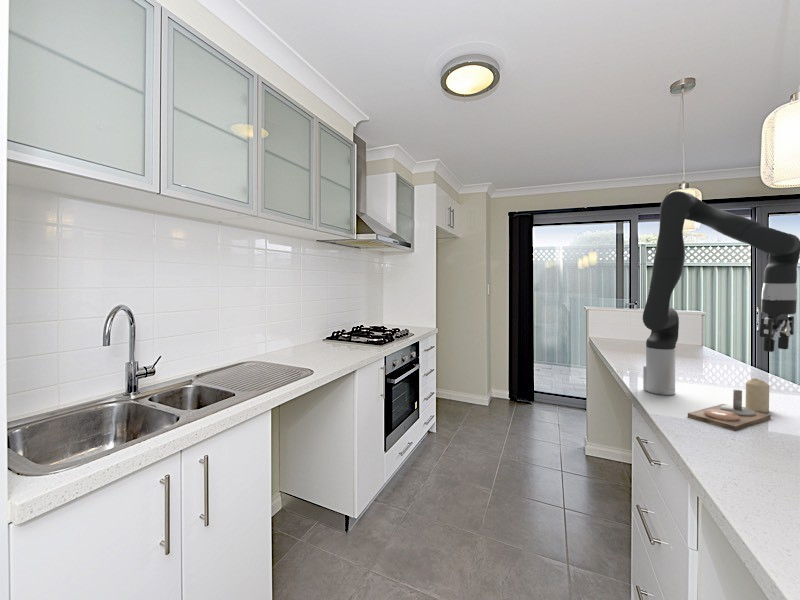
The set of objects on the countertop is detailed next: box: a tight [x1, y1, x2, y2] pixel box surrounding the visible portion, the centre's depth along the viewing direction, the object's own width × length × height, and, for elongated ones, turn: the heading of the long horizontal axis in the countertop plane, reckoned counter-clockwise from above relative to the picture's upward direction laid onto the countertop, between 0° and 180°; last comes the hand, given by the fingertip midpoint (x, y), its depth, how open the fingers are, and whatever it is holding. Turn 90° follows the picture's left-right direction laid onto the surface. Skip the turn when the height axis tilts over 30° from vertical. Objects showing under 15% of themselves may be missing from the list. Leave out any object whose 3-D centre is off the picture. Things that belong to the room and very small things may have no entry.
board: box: [687, 388, 772, 431], centre depth 113 cm, size 12×20×8 cm, turn 114°
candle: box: [745, 377, 770, 413], centre depth 120 cm, size 6×6×10 cm
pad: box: [705, 409, 739, 421], centre depth 111 cm, size 8×8×1 cm
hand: (776, 350), depth 113 cm, fingers open, 8 cm apart
